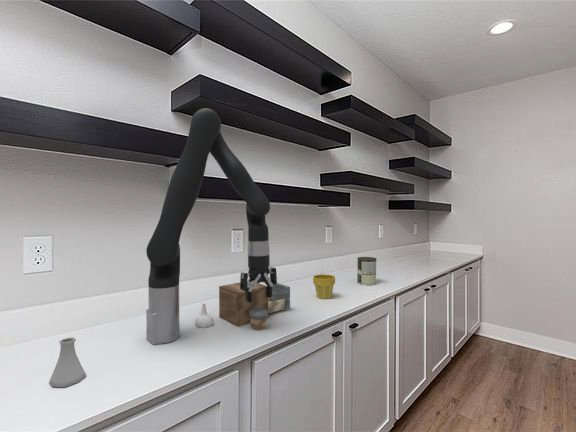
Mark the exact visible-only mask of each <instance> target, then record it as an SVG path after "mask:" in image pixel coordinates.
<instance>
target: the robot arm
mask: <svg viewBox="0 0 576 432" xmlns="http://www.w3.org/2000/svg"><path fill="white" fill-rule="evenodd" d="M221 123H222V122H221V118H220V116H219V115H218V113H217V112H216V111H215V110H213V109H212V108H208V107H207V108H206V107H204V108H201V109H198V110H197V111H196V112H194V114H193V115H192V116H191V120H190V126H189V131H188V136H187V139H186V143H185V145H184V149H183V151H182V153H181V156H180V157H179V160H178V162H177V163H176V166H175V169H174V170H173V174H172V175H171V178H170V181H169V185H168V187H167V190H166V193H165V198H164V202H163V204H162V205H163V206H162V208H161V213H160V217H159V220H158V223H157V224H156V226H155V227H156V228H155V229H154V232H153V234H152V235H151V238H150V239H149V242H148V243H147V245H146V252H145V253H146V257H147V259H148V261H149V263H150V264H149V265H150V268H149V276H148V280H147V281H148V282H147V283H148V308H147V309H146V314H145V315H146V318H145V319H146V340H147V341H149V342H150V343H151V344H152V345H159V344H161V345H162V344H169V343H171V342H174V341H176V340H178V339H179V338H180V335H181V332H180V329H181V328H180V275H181V245H180V240H181V235H182V231H183V228H184V225H185V223H186V221H187V219H188V218H189V216H190V214H191V211H192V210H193V208H194V205H195V203H196V202H197V198H198V195H199V192H200V189H201V187H202V183H203V180H204V176H205V173H206V167H207V161H208V157H209V154H211V156H212V157H213V159H214V160H215V161H216V163H217V164H218V166H219V167H220V169H221V171H222V172H223V174H224V175H225V177H226V179H227V180H228V182H229V183H230V184H231V187H232V188H233V189H234V191H235V192H236V193H237V194H238V196H240V197H242V199H243V200H244V202H245V203H246V205H245V214H246V221H247V222H246V223H247V229H248V231H247V238H248V242H247V268H248V272H243V271H241V272H240V276H239V277H240V280H239V281H240V282H239V283H240V289H241V290H243V291H245V294H246V301H247V302H249V303H251V302H252V292H251V291H252V289H253V287H254V286H255V285H256V283H259V284H261V283H265V284H264V285H265V286H266V296H267V297H269V298H270V297H272V287H273V285H274V284H277V283H278V278H277V276H278V275H277V268H276V267H272V266H271V262H270V241H269V226H268V225H267V222H266V216H267V215H268V214H269V212H270V210H271V204H270V201H269V198H267V196H266V194H265V193H264V192H263V191H262V189H260V187H259V186H258V185H257V184H256V183H255V181H254V180H253V178H252V176H251V173H249V172H248V170H247V168H246V166H244V164H243V163H242V161H240V159H239V158H238V157H237V156H236V155H235V153H234V152H233V151H232V150H231V148H230V147H229V146H228V144H227V143H226V140H225V139H224V138H223V137H224V136H223V134H222V132H221V127H222V124H221ZM247 281H248V282H247Z"/></svg>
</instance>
